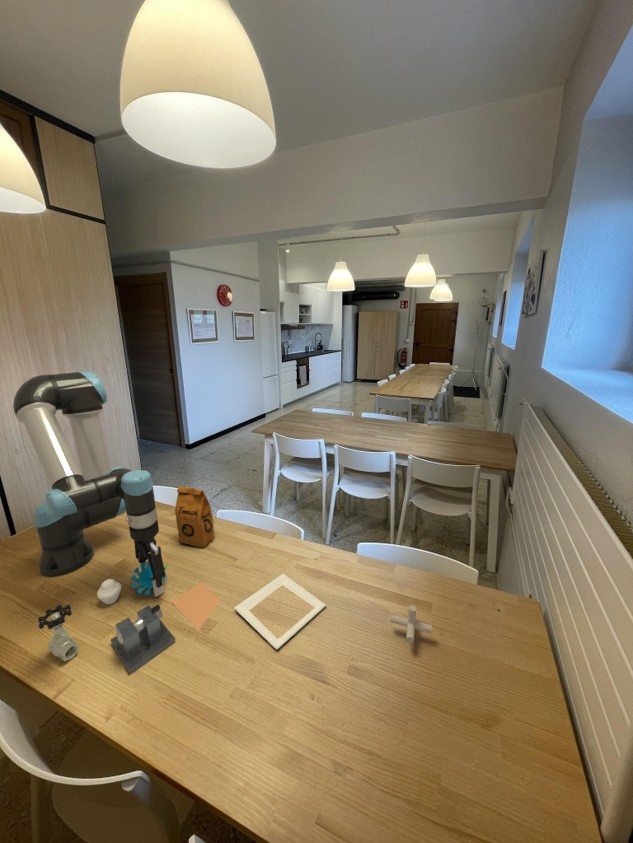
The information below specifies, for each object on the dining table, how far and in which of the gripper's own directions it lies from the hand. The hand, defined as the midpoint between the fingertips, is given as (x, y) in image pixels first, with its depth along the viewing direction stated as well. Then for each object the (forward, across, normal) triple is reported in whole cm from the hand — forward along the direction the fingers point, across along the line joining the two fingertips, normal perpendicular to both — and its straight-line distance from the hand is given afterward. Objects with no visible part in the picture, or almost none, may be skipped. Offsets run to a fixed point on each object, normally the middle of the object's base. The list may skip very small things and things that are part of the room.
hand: (153, 586), depth 103 cm
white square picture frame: (+1, +36, +20) cm, 41 cm away
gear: (+1, +2, 0) cm, 3 cm away
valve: (+1, +5, -24) cm, 25 cm away
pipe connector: (0, +68, +36) cm, 77 cm away
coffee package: (+1, -12, +22) cm, 25 cm away
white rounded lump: (+1, -5, -10) cm, 11 cm away
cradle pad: (0, +17, +6) cm, 18 cm away
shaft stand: (0, +17, -10) cm, 20 cm away
